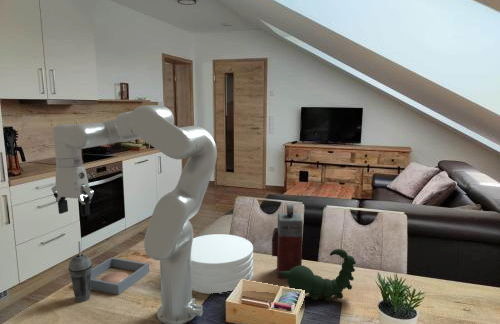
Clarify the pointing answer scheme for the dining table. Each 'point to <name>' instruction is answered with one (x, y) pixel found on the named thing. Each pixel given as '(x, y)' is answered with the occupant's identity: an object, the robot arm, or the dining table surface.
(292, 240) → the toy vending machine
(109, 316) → the dining table surface
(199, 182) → the robot arm
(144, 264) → the grey square frame
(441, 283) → the dining table surface
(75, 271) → the beverage cup
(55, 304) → the dining table surface
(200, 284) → the plate stack
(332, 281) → the toy figurine
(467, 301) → the dining table surface
